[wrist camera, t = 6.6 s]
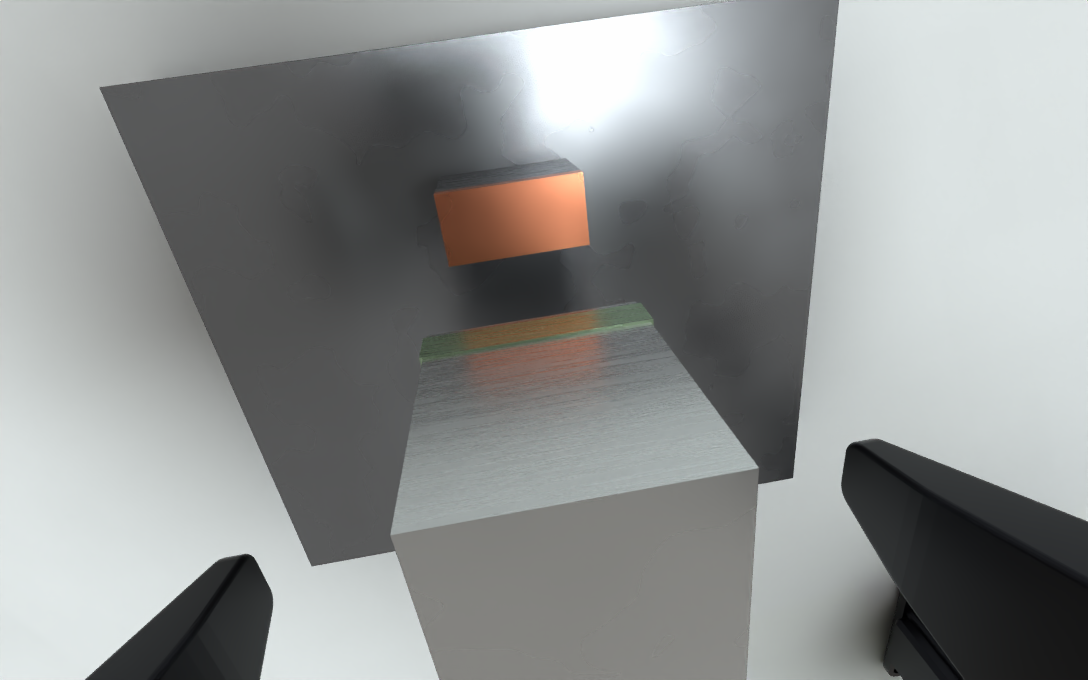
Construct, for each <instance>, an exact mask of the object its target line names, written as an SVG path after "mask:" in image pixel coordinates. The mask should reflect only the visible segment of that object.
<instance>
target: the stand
mask: <svg viewBox="0 0 1088 680" xmlns="http://www.w3.org/2000/svg"><path fill="white" fill-rule="evenodd" d="M838 5H839V0H735V1H728V2H721V3H713V4H706V5H699V6H691V7H684V8H677V9H670V10H662V11H655V12H648V13H640V14H633V15H626V16H618V17H611V18H604V19H596V20H589V21H582V22H575V23H567V24H560V25H553V26H545V27H538V28H531V29H523V30H516V31H509V32H501V33H494V34H487V35H480V36H472V37H465V38H458V39H450V40H443V41H436V42H428V43H421V44H414V45H407V46H399V47H392V48H385V49H377V50H370V51H363V52H355V53H348V54H341V55H333V56H326V57H319V58H312V59H304V60H297V61H290V62H282V63H275V64H268V65H260V66H253V67H246V68H238V69H231V70H224V71H217V72H209V73H202V74H195V75H187V76H180V77H173V78H165V79H158V80H151V81H143V82H136V83H129V84H122V85H114V86H107V87H100V90H101V92H102V94H103V97H104V99H105V101H106V103H107V106H108V108H109V110H110V112H111V115H112V117H113V119H114V121H115V124H116V126H117V128H118V130H119V133H120V135H121V137H122V140H123V142H124V144H125V146H126V149H127V151H128V153H129V155H130V158H131V160H132V162H133V164H134V167H135V169H136V171H137V173H138V176H139V178H140V180H141V182H142V185H143V187H144V189H145V191H146V194H147V196H148V198H149V200H150V203H151V205H152V207H153V209H154V212H155V214H156V216H157V218H158V221H159V223H160V225H161V227H162V230H163V232H164V234H165V237H166V239H167V241H168V243H169V246H170V248H171V250H172V252H173V255H174V257H175V259H176V261H177V264H178V266H179V268H180V270H181V273H182V275H183V277H184V279H185V282H186V284H187V286H188V288H189V291H190V293H191V295H192V297H193V300H194V302H195V304H196V306H197V309H198V311H199V313H200V315H201V318H202V320H203V322H204V325H205V327H206V329H207V331H208V334H209V336H210V338H211V340H212V343H213V345H214V347H215V349H216V352H217V354H218V356H219V358H220V361H221V363H222V365H223V367H224V370H225V372H226V374H227V376H228V379H229V381H230V383H231V385H232V388H233V390H234V392H235V394H236V397H237V399H238V401H239V403H240V406H241V408H242V410H243V412H244V415H245V417H246V419H247V422H248V424H249V426H250V428H251V431H252V433H253V435H254V437H255V440H256V442H257V444H258V446H259V449H260V451H261V453H262V455H263V458H264V460H265V462H266V464H267V467H268V469H269V471H270V473H271V476H272V478H273V480H274V482H275V485H276V487H277V489H278V491H279V494H280V496H281V498H282V500H283V503H284V505H285V507H286V509H287V512H288V514H289V516H290V519H291V521H292V523H293V525H294V528H295V530H296V532H297V534H298V537H299V539H300V541H301V543H302V546H303V548H304V550H305V552H306V555H307V557H308V559H309V561H310V564H311V566H316V565H322V564H327V563H333V562H338V561H344V560H349V559H354V558H360V557H365V556H371V555H376V554H382V553H387V552H393V551H395V548H394V545H393V542H392V539H391V536H390V534H391V528H392V523H393V518H394V512H395V507H396V501H397V496H398V490H399V485H400V480H401V474H402V469H403V463H404V458H405V453H406V447H407V442H408V436H409V431H410V425H411V420H412V415H413V409H414V404H415V398H416V393H417V387H418V382H419V377H420V371H421V364H420V360H419V355H420V350H421V345H422V340H423V338H427V336H428V335H434V334H440V333H447V332H453V331H459V330H465V329H471V328H477V327H483V326H489V325H495V324H501V323H507V322H513V321H520V320H526V319H532V318H538V317H544V316H550V315H556V314H562V313H568V312H574V311H580V310H587V309H593V308H599V307H605V306H611V305H617V304H623V303H629V302H636V303H640V302H641V304H642V305H643V306H644V307H645V309H646V310H647V311H648V313H649V314H650V315H651V317H652V318H653V322H654V327H655V329H656V330H657V331H658V333H659V334H660V335H661V337H662V338H663V339H664V341H665V342H666V343H667V345H668V346H669V347H670V349H671V350H672V352H673V353H674V354H675V356H676V357H677V358H678V360H679V361H680V362H681V364H682V365H683V366H684V368H685V369H686V370H687V372H688V373H689V374H690V376H691V377H692V378H693V380H694V381H695V382H696V384H697V385H698V387H699V388H700V389H701V391H702V392H703V393H704V395H705V396H706V397H707V399H708V400H709V401H710V403H711V404H712V405H713V407H714V408H715V409H716V411H717V412H718V413H719V415H720V416H721V418H722V419H723V420H724V422H725V423H726V424H727V426H728V427H729V428H730V430H731V431H732V432H733V434H734V435H735V436H736V438H737V439H738V440H739V442H740V443H741V444H742V446H743V447H744V449H745V450H746V451H747V453H748V454H749V455H750V457H751V458H752V459H753V461H754V462H755V463H756V465H757V466H758V467H759V476H758V484H762V483H768V482H773V481H779V480H784V479H790V478H793V471H794V460H795V450H796V440H797V429H798V419H799V409H800V398H801V388H802V378H803V367H804V357H805V347H806V336H807V326H808V315H809V305H810V295H811V284H812V274H813V264H814V253H815V243H816V233H817V222H818V212H819V202H820V191H821V181H822V171H823V160H824V150H825V140H826V129H827V119H828V109H829V98H830V88H831V78H832V67H833V57H834V47H835V36H836V26H837V15H838Z"/></svg>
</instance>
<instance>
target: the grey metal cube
mask: <svg viewBox="0 0 1088 680" xmlns="http://www.w3.org/2000/svg"><path fill="white" fill-rule="evenodd" d="M419 360H420V364H421V371H420V377H419V382H418V387H417V393H416V398H415V404H414V409H413V415H412V420H411V425H410V431H409V436H408V442H407V447H406V453H405V458H404V463H403V469H402V474H401V480H400V485H399V490H398V496H397V501H396V507H395V512H394V518H393V523H392V528H391V534H390V536H391V539H392V542H393V545H394V548H395V551H396V554H397V557H398V559H399V562H400V565H401V568H402V571H403V574H404V577H405V580H406V583H407V586H408V589H409V592H410V595H411V598H412V600H413V603H414V606H415V609H416V612H417V615H418V618H419V621H420V624H421V627H422V630H423V633H424V636H425V639H426V641H427V644H428V647H429V650H430V653H431V656H432V659H433V662H434V665H435V668H436V671H437V674H438V677H439V680H746V673H747V657H748V640H749V624H750V607H751V591H752V575H753V558H754V542H755V525H756V509H757V493H758V476H759V467H758V466H757V465H756V463H755V462H754V461H753V459H752V458H751V457H750V455H749V454H748V453H747V451H746V450H745V449H744V447H743V446H742V444H741V443H740V442H739V440H738V439H737V438H736V436H735V435H734V434H733V432H732V431H731V430H730V428H729V427H728V426H727V424H726V423H725V422H724V420H723V419H722V418H721V416H720V415H719V413H718V412H717V411H716V409H715V408H714V407H713V405H712V404H711V403H710V401H709V400H708V399H707V397H706V396H705V395H704V393H703V392H702V391H701V389H700V388H699V387H698V385H697V384H696V382H695V381H694V380H693V378H692V377H691V376H690V374H689V373H688V372H687V370H686V369H685V368H684V366H683V365H682V364H681V362H680V361H679V360H678V358H677V357H676V356H675V354H674V353H673V352H672V350H671V349H670V347H669V346H668V345H667V343H666V342H665V341H664V339H663V338H662V337H661V335H660V334H659V333H658V331H657V330H656V329H655V327H654V322H653V318H652V317H651V315H650V314H649V313H648V311H647V310H646V309H645V307H644V306H643V305H642V304H641V302H640V303H636V302H629V303H623V304H617V305H611V306H605V307H599V308H593V309H587V310H580V311H574V312H568V313H562V314H556V315H550V316H544V317H538V318H532V319H526V320H520V321H513V322H507V323H501V324H495V325H489V326H483V327H477V328H471V329H465V330H459V331H453V332H447V333H440V334H434V335H428V336H427V338H423V340H422V345H421V350H420V355H419Z"/></svg>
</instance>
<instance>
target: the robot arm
mask: <svg viewBox="0 0 1088 680" xmlns="http://www.w3.org/2000/svg"><path fill="white" fill-rule="evenodd" d="M841 487H842V493H843V496H844V498H845V500H846V502H847V504H848V506H849V507H850V509H851V511H852V512H853V514H854V516H855V517H856V519H857V521H858V522H859V524H860V526H861V528H862V529H863V531H864V533H865V534H866V536H867V538H868V539H869V541H870V543H871V544H872V546H873V548H874V549H875V551H876V553H877V554H878V556H879V558H880V560H881V561H882V563H883V565H884V566H885V568H886V570H887V571H888V573H889V575H890V576H891V578H892V579H893V581H894V583H895V584H896V586H897V587H898V589H899V590H900V595H899V599H898V603H897V608H896V612H895V616H894V620H893V625H892V629H891V633H890V637H889V641H888V646H887V650H886V654H885V658H884V663H883V666H884V668H885V669H886V671H887V672H888V674H889V675H890V676H893V677H894V676H901V677H902V679H903V680H1088V521H1085V520H1083V519H1080V518H1078V517H1075V516H1073V515H1070V514H1067V513H1065V512H1062V511H1060V510H1057V509H1055V508H1052V507H1050V506H1047V505H1045V504H1042V503H1040V502H1037V501H1035V500H1032V499H1029V498H1027V497H1024V496H1022V495H1019V494H1017V493H1014V492H1012V491H1009V490H1007V489H1004V488H1002V487H999V486H997V485H994V484H992V483H989V482H986V481H984V480H981V479H979V478H976V477H974V476H971V475H969V474H966V473H964V472H961V471H959V470H956V469H954V468H951V467H948V466H946V465H943V464H941V463H938V462H936V461H933V460H931V459H928V458H926V457H923V456H921V455H918V454H916V453H913V452H911V451H908V450H905V449H903V448H900V447H898V446H895V445H893V444H890V443H888V442H885V441H883V440H880V439H869V440H863V441H858V442H853V443H851V444H850V445H849V446H848V447H847V450H846V455H845V462H844V468H843V475H842V482H841ZM272 611H273V596H272V592H271V589H270V587H269V585H268V583H267V581H266V579H265V577H264V576H263V574H262V572H261V570H260V568H259V566H258V564H257V562H256V560H255V558H254V557H252V556H251V555H249V554H242V555H237V556H232V557H226V558H223V559H220V560H218V561H217V562H215V563H214V564H213V565H212V566H211V567H210V568H208V569H207V570H206V571H205V572H204V573H203V574H202V575H201V576H200V577H198V578H197V579H196V580H195V581H194V582H193V583H192V584H191V585H190V586H188V587H187V588H186V589H185V590H184V591H183V592H182V593H181V594H180V595H178V596H177V597H176V598H175V599H174V600H173V601H172V602H171V603H170V604H168V605H167V606H166V607H165V608H164V609H163V610H162V611H161V612H160V613H158V614H157V615H156V616H155V617H154V618H153V619H152V620H151V621H150V622H148V623H147V624H146V625H145V626H144V627H143V628H142V629H141V630H140V631H138V632H137V633H136V634H135V635H134V636H133V637H132V638H131V639H130V640H128V641H127V642H126V643H125V644H124V645H123V646H122V647H121V648H120V649H118V650H117V651H116V652H115V653H114V654H113V655H112V656H111V657H110V658H108V659H107V660H106V661H105V662H104V663H103V664H102V665H101V666H100V667H98V668H97V669H96V670H95V671H94V672H93V673H92V674H91V675H90V676H88V677H87V678H86V679H85V680H260V676H261V671H262V665H263V660H264V654H265V649H266V644H267V638H268V633H269V627H270V622H271V616H272Z"/></svg>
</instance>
